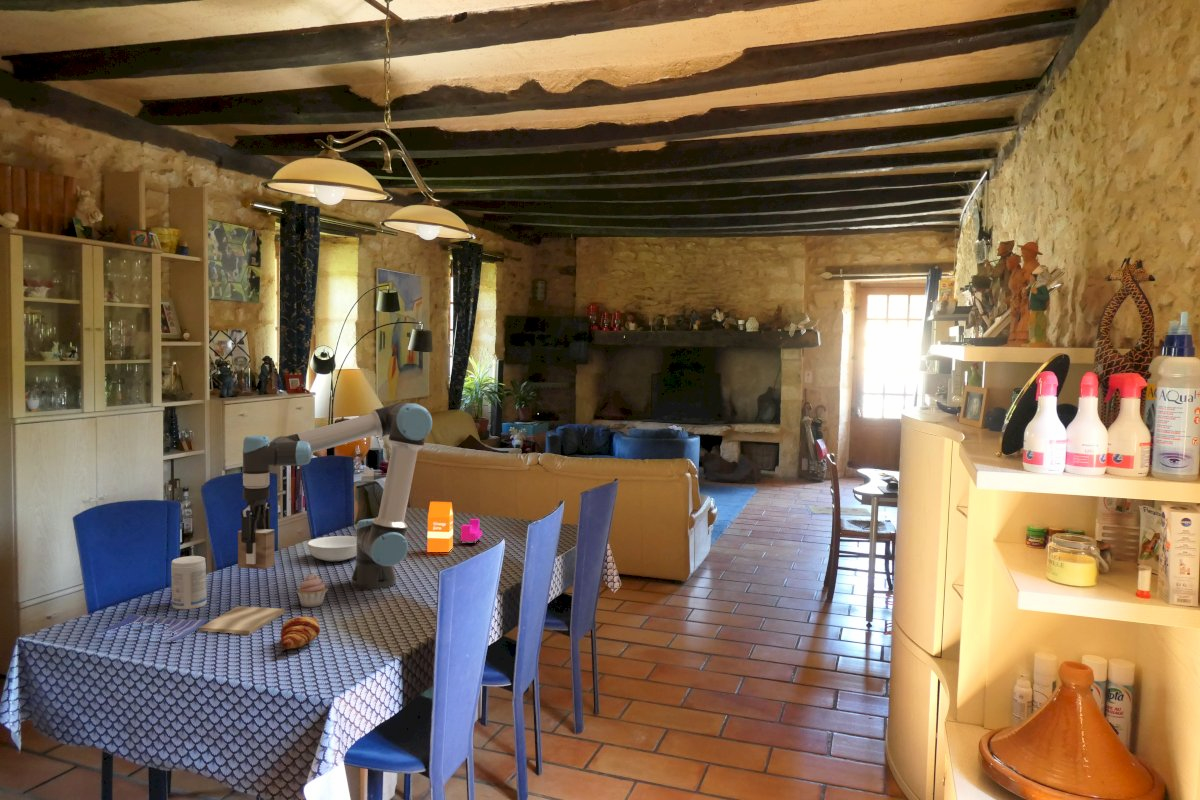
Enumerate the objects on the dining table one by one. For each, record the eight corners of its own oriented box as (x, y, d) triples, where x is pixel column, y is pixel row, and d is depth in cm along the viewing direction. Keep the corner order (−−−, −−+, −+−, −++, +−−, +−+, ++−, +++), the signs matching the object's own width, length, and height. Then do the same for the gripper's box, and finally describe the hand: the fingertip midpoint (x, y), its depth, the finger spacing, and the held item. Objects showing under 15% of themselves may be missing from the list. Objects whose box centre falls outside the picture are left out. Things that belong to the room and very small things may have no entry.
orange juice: (449, 553, 326) (449, 503, 324) (427, 552, 326) (427, 503, 325) (452, 548, 333) (453, 500, 332) (431, 548, 334) (432, 499, 332)
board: (284, 612, 247) (284, 608, 247) (249, 634, 228) (249, 630, 227) (237, 610, 249) (237, 606, 249) (199, 631, 229) (199, 627, 229)
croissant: (306, 639, 233) (291, 615, 233) (336, 621, 233) (321, 597, 233) (276, 665, 212) (260, 639, 212) (309, 646, 212) (293, 620, 212)
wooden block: (274, 565, 252) (274, 529, 251) (265, 569, 247) (266, 533, 246) (246, 563, 253) (247, 528, 252) (237, 567, 248) (238, 531, 247)
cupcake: (318, 610, 250) (318, 578, 250) (290, 608, 252) (290, 576, 252) (333, 601, 260) (333, 570, 259) (306, 599, 261) (306, 568, 261)
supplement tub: (206, 600, 258) (206, 554, 257) (206, 608, 249) (206, 561, 249) (172, 603, 254) (171, 557, 253) (170, 612, 245) (170, 564, 244)
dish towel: (132, 621, 238) (131, 612, 238) (210, 625, 236) (210, 615, 236) (91, 642, 221) (91, 632, 220) (175, 646, 219) (175, 636, 219)
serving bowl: (372, 553, 323) (372, 536, 322) (351, 567, 302) (351, 548, 301) (322, 551, 325) (322, 534, 324) (297, 564, 304) (297, 546, 303)
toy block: (475, 544, 343) (475, 526, 343) (461, 543, 344) (461, 525, 344) (484, 536, 358) (485, 519, 358) (471, 535, 359) (471, 518, 359)
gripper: (260, 481, 258) (260, 553, 259) (227, 490, 240) (227, 568, 241) (282, 482, 257) (282, 555, 258) (251, 491, 239) (251, 569, 240)
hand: (256, 561), depth 250 cm, fingers closed on wooden block, 5 cm apart
